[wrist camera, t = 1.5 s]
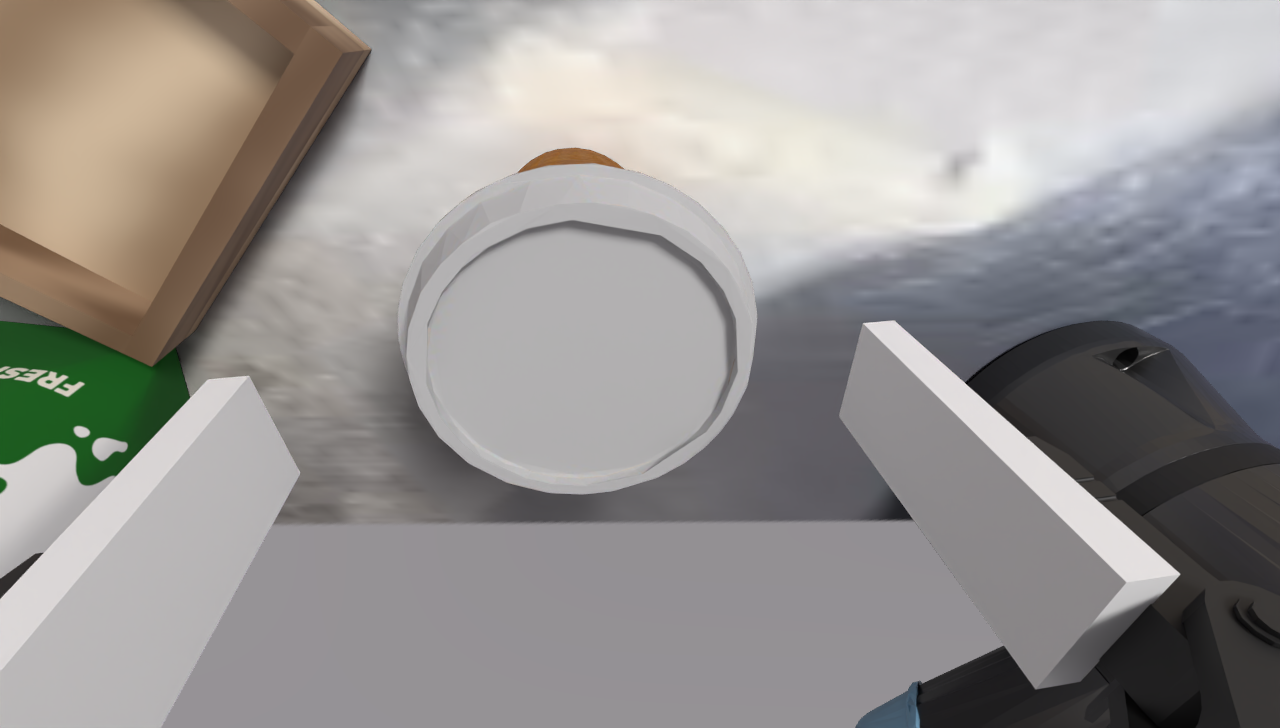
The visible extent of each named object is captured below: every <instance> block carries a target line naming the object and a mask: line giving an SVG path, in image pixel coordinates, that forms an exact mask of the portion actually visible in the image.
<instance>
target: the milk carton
mask: <svg viewBox="0 0 1280 728" xmlns="http://www.w3.org/2000/svg"><path fill="white" fill-rule="evenodd" d="M189 399H190V397H189V393H188V390H187V386H186V383H185V379H184V376H183V372H182V369H181V365H180V362H179V358H178V355H177V351H176V348H174V349H173V350H171V351H170V352H169V353H168V354H167V355H166V356H164V357H163V358H162V359H161V360H160V361H158V362H157V363H156V364H155V365H154V366H152V367H151V366H149V365H147V364H145V363H143V362H140V361H138V360H136V359H134V358H132V357H130V356H127V355H125V354H123V353H121V352H119V351H117V350H114V349H112V348H110V347H108V346H106V345H104V344H102V343H99V342H97V341H95V340H93V339H91V338H89V337H86V336H84V335H82V334H80V333H78V332H76V331H74V330H71V329H69V328H64V327H54V326H45V325H35V324H25V323H15V322H6V321H0V578H2V577H3V576H5V575H6V574H7V573H9V572H10V571H12V570H13V569H14V568H16V567H17V566H19V565H20V564H21V563H23V562H24V561H26V560H27V559H28V558H30V557H31V556H33V555H34V554H36V553H44V552H45V551H46V550H47V549H48V548H49V547H50V546H51V545H52V544H53V543H54V542H55V541H56V540H57V538H58V537H59V536H60V535H61V534H62V533H63V532H64V531H65V530H66V529H67V528H68V527H69V526H70V525H71V524H72V523H73V522H74V520H75V519H76V518H77V517H78V516H79V515H80V514H81V513H82V512H83V511H84V510H85V509H86V508H87V507H88V506H89V505H90V504H91V503H92V501H93V500H94V499H95V498H96V497H97V496H98V495H99V494H100V493H101V492H102V491H103V490H104V489H105V488H106V487H107V486H108V485H109V483H110V482H111V481H112V480H113V479H114V478H115V477H116V476H117V475H118V474H119V473H120V472H121V471H122V470H123V469H124V468H125V467H126V466H127V464H128V463H129V462H130V461H131V460H132V459H133V458H134V457H135V456H136V455H137V454H138V453H139V452H140V451H141V450H142V449H143V448H144V446H145V445H146V444H147V443H148V442H149V441H150V440H151V439H152V438H153V437H154V436H155V435H156V434H157V433H158V432H159V431H160V430H161V429H162V427H163V426H164V425H165V424H166V423H167V422H168V421H169V420H170V419H171V418H172V417H173V416H174V415H175V414H176V413H177V412H178V411H179V409H180V408H181V407H182V406H183V405H184V404H185V403H186V402H187V401H188V400H189Z"/></svg>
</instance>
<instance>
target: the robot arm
mask: <svg viewBox="0 0 1280 728" xmlns="http://www.w3.org/2000/svg"><path fill="white" fill-rule="evenodd" d="M839 417H840V419H841V420H842V421H843V423H844V424H845V426H846V427H847V428H848V430H849V431H850V433H851V434H852V435H853V437H854V438H855V439H856V441H857V442H858V444H859V445H860V446H861V448H862V449H863V451H864V452H865V453H866V455H867V456H868V457H869V459H870V460H871V462H872V463H873V464H874V466H875V467H876V469H877V470H878V471H879V473H880V474H881V476H882V477H883V478H884V480H885V481H886V482H887V484H888V485H889V487H890V488H891V489H892V491H893V492H894V494H895V495H896V496H897V498H898V499H899V501H900V502H901V503H902V505H903V506H904V507H905V509H906V510H907V512H908V513H909V514H910V516H911V517H912V519H913V520H914V521H915V523H916V524H917V525H918V527H919V528H920V530H921V531H922V532H923V534H924V535H925V536H926V538H927V539H928V541H929V542H930V544H931V545H932V546H933V547H934V549H935V551H936V552H937V553H938V555H939V556H940V557H941V559H942V560H943V562H944V563H945V564H946V566H947V567H948V569H949V570H950V571H951V573H952V574H953V575H954V577H955V578H956V580H957V581H958V582H959V584H960V585H961V587H962V588H963V589H964V591H965V592H966V594H967V595H968V596H969V598H970V599H971V600H972V602H973V603H974V605H975V606H976V607H977V609H978V610H979V612H980V613H981V614H982V616H983V617H984V618H985V620H986V621H987V623H988V624H989V625H990V627H991V628H992V630H993V631H994V632H995V634H996V635H997V637H998V638H999V639H1000V640H1001V642H1002V643H1003V645H1004V646H1002V647H1000V648H998V649H996V650H994V651H991V652H989V653H987V654H985V655H983V656H981V657H979V658H977V659H974V660H972V661H970V662H968V663H966V664H964V665H961V666H959V667H957V668H955V669H953V670H951V671H948V672H946V673H944V674H942V675H940V676H938V677H936V678H934V679H931V680H929V681H927V682H925V683H923V684H922V682H921V681H918V682H914V683H912V684H911V686H910V687H909V689H908V691H906V692H905V693H903V694H901V695H899V696H897V697H896V698H894V699H892V700H890V701H888V702H887V703H885V704H883V705H881V706H879V707H877V708H876V709H874V710H872V711H870V712H869V713H867V714H866V715H865V716H863V718H861V719H860V721H859V722H858V724H857V725H856V727H855V728H1280V449H1278V448H1276V447H1275V446H1273V445H1271V444H1270V443H1268V442H1266V441H1265V440H1263V439H1262V438H1261V437H1259V436H1258V435H1257V434H1256V433H1255V432H1254V431H1253V430H1252V429H1251V428H1250V427H1249V426H1248V424H1247V423H1246V422H1245V421H1244V420H1243V419H1242V418H1241V417H1240V416H1239V415H1238V414H1237V412H1236V411H1235V410H1234V409H1233V408H1232V407H1231V406H1230V405H1229V404H1228V403H1227V401H1226V400H1225V399H1224V398H1223V397H1222V396H1221V395H1220V394H1219V393H1218V392H1217V391H1216V389H1215V388H1214V387H1213V386H1212V385H1211V384H1210V383H1209V382H1208V381H1207V380H1206V379H1205V377H1204V376H1203V375H1202V374H1201V373H1200V372H1199V371H1198V370H1197V369H1196V368H1195V367H1194V365H1193V364H1192V363H1191V362H1190V361H1189V360H1188V359H1187V358H1186V357H1185V356H1184V355H1183V354H1182V353H1181V352H1179V351H1178V350H1177V349H1175V348H1174V347H1173V346H1171V345H1169V344H1168V343H1166V342H1164V341H1162V340H1160V339H1158V338H1156V337H1154V336H1152V335H1150V334H1149V333H1147V332H1145V331H1143V330H1141V329H1139V328H1137V327H1135V326H1132V325H1130V324H1126V323H1122V322H1115V321H1093V322H1085V323H1079V324H1074V325H1070V326H1066V327H1063V328H1059V329H1056V330H1053V331H1051V332H1048V333H1045V334H1043V335H1041V336H1038V337H1036V338H1034V339H1032V340H1030V341H1028V342H1026V343H1024V344H1022V345H1020V346H1018V347H1016V348H1015V349H1013V350H1011V351H1010V352H1008V353H1006V354H1005V355H1003V356H1002V357H1000V358H999V359H997V360H996V361H995V362H993V363H992V364H991V365H989V366H988V367H987V368H985V369H984V370H983V371H982V372H981V373H979V374H978V375H977V376H976V377H975V378H974V379H973V380H972V381H970V382H969V383H968V384H967V385H966V384H965V383H964V382H963V381H962V380H961V379H960V378H958V377H957V376H956V375H955V374H954V373H953V372H952V371H951V370H949V369H948V368H947V367H946V366H945V365H944V364H943V363H941V362H940V361H939V360H938V359H937V358H936V357H935V356H934V355H932V354H931V353H930V352H929V351H928V350H927V349H926V348H925V347H923V346H922V345H921V344H920V343H919V342H918V341H917V340H916V339H914V338H913V337H912V336H911V335H910V334H909V333H908V332H906V331H905V330H904V329H903V328H902V327H901V326H900V325H899V324H897V323H896V322H895V321H883V322H872V323H863V325H862V329H861V333H860V336H859V340H858V344H857V348H856V352H855V356H854V360H853V364H852V367H851V371H850V375H849V379H848V383H847V387H846V391H845V395H844V399H843V402H842V406H841V410H840V414H839ZM299 475H300V471H299V470H298V468H297V466H296V464H295V462H294V460H293V458H292V456H291V454H290V453H289V451H288V449H287V447H286V445H285V443H284V441H283V439H282V437H281V435H280V434H279V432H278V430H277V428H276V426H275V424H274V422H273V420H272V418H271V417H270V415H269V413H268V411H267V409H266V407H265V405H264V403H263V401H262V399H261V398H260V396H259V394H258V392H257V390H256V388H255V386H254V384H253V382H252V381H251V379H250V377H249V376H242V377H230V378H218V379H208V380H207V381H206V382H205V383H204V384H203V385H202V386H201V387H200V388H199V389H198V390H197V392H196V393H195V394H194V395H193V396H192V397H191V398H190V399H189V400H188V401H187V402H186V403H185V404H184V405H183V406H182V407H181V408H180V409H179V411H178V412H177V413H176V414H175V415H174V416H173V417H172V418H171V419H170V420H169V421H168V422H167V423H166V424H165V425H164V426H163V427H162V429H161V430H160V431H159V432H158V433H157V434H156V435H155V436H154V437H153V438H152V439H151V440H150V441H149V442H148V443H147V444H146V445H145V446H144V448H143V449H142V450H141V451H140V452H139V453H138V454H137V455H136V456H135V457H134V458H133V459H132V460H131V461H130V462H129V463H128V464H127V466H126V467H125V468H124V469H123V470H122V471H121V472H120V473H119V474H118V475H117V476H116V477H115V478H114V479H113V480H112V481H111V482H110V483H109V485H108V486H107V487H106V488H105V489H104V490H103V491H102V492H101V493H100V494H99V495H98V496H97V497H96V498H95V499H94V500H93V501H92V503H91V504H90V505H89V506H88V507H87V508H86V509H85V510H84V511H83V512H82V513H81V514H80V515H79V516H78V517H77V518H76V519H75V520H74V522H73V523H72V524H71V525H70V526H69V527H68V528H67V529H66V530H65V531H64V532H63V533H62V534H61V535H60V536H59V537H58V538H57V540H56V541H55V542H54V543H53V544H52V545H51V546H50V547H49V548H48V549H47V550H46V551H45V552H44V553H36V554H34V555H33V556H31V557H30V558H28V559H27V560H26V561H24V562H23V563H21V564H20V565H19V566H17V567H16V568H14V569H13V570H12V571H10V572H9V573H7V574H6V575H5V576H3V577H2V578H0V728H161V727H162V725H163V723H164V721H165V720H166V718H167V716H168V714H169V712H170V711H171V709H172V707H173V705H174V703H175V701H176V700H177V698H178V696H179V694H180V692H181V690H182V689H183V687H184V685H185V683H186V681H187V680H188V678H189V676H190V674H191V672H192V670H193V668H194V667H195V665H196V663H197V661H198V659H199V657H200V655H201V654H202V652H203V650H204V648H205V647H206V645H207V643H208V641H209V639H210V637H211V636H212V634H213V632H214V630H215V628H216V627H217V625H218V623H219V621H220V619H221V618H222V615H223V614H224V612H225V610H226V608H227V607H228V605H229V603H230V601H231V599H232V597H233V596H234V594H235V592H236V590H237V588H238V587H239V585H240V583H241V581H242V579H243V577H244V576H245V574H246V572H247V570H248V568H249V566H250V564H251V563H252V561H253V559H254V557H255V556H256V554H257V552H258V550H259V548H260V546H261V545H262V543H263V541H264V539H265V537H266V535H267V534H268V532H269V530H270V528H271V526H272V525H273V523H274V521H275V519H276V517H277V515H278V514H279V512H280V510H281V508H282V506H283V504H284V503H285V501H286V499H287V497H288V495H289V494H290V492H291V490H292V488H293V486H294V484H295V483H296V481H297V479H298V477H299Z"/></svg>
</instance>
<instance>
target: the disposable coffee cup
mask: <svg viewBox="0 0 1280 728" xmlns="http://www.w3.org/2000/svg"><path fill="white" fill-rule="evenodd" d="M756 324H757V310H756V303H755V296H754V289H753V283H752V280H751V277H750V275H749V272H748V270H747V267H746V265H745V262H744V260H743V257H742V255H741V253H740V251H739V250H738V248H737V247H736V245H735V244H734V242H733V241H732V239H731V238H730V236H729V235H728V233H727V232H726V231H725V229H724V228H723V227H722V226H721V225H720V224H719V223H718V222H717V221H716V220H715V219H714V218H713V217H712V216H711V215H710V214H709V213H708V212H707V211H706V210H705V209H704V208H703V207H702V206H701V205H700V204H699V203H698V202H696V201H695V200H693V199H691V198H690V197H688V196H687V195H685V194H684V193H682V192H680V191H679V190H677V189H676V188H674V187H672V186H671V185H669V184H667V183H664V182H662V181H659V180H657V179H655V178H652V177H650V176H647V175H645V174H643V173H640V172H635V171H630V170H625V169H624V168H622V167H621V166H620V165H619V164H617V163H616V162H614V161H613V160H611V159H609V158H608V157H606V156H605V155H602V154H599V153H597V152H594V151H591V150H586V149H580V148H566V149H557V150H553V151H550V152H546V153H544V154H542V155H540V156H538V157H536V158H535V159H533V160H531V161H530V162H529V163H527V164H526V165H525V166H524V167H523V168H522V169H521V170H520V171H519V172H518V173H516V174H513V175H510V176H508V177H506V178H504V179H502V180H500V181H497V182H495V183H493V184H491V185H489V186H487V187H484V188H482V189H480V190H478V191H476V192H475V193H473V194H472V195H470V196H469V197H468V198H466V199H465V200H463V201H462V202H461V203H460V204H458V205H457V206H456V207H455V208H454V209H453V210H451V211H450V212H449V213H448V214H447V215H445V217H444V218H443V219H442V220H441V221H440V222H439V223H438V224H437V225H436V226H435V227H434V229H433V230H432V231H431V233H430V234H429V235H428V237H427V238H426V239H425V241H424V242H423V243H422V245H421V246H420V247H419V249H418V250H417V252H416V254H415V256H414V259H413V261H412V263H411V266H410V268H409V270H408V273H407V275H406V277H405V280H404V282H403V284H402V290H401V295H400V301H399V306H398V341H399V345H400V349H401V353H402V357H403V362H404V366H405V369H406V371H407V373H408V375H409V380H410V383H411V386H412V389H413V392H414V395H415V398H416V401H417V404H418V406H419V408H420V409H421V411H422V412H423V414H424V415H425V417H426V418H427V420H428V422H429V423H430V425H431V426H432V428H433V429H434V431H435V432H436V434H437V435H438V437H439V438H441V439H442V440H443V441H444V442H445V443H446V444H447V445H448V446H450V447H451V448H452V449H453V450H454V451H455V452H456V453H457V454H459V455H460V456H461V457H462V458H463V459H464V460H465V461H466V462H468V463H469V464H471V465H473V466H475V467H477V468H479V469H481V470H483V471H485V472H487V473H489V474H491V475H493V476H495V477H497V478H499V479H501V480H503V481H505V482H506V483H510V484H514V485H518V486H522V487H526V488H530V489H534V490H539V491H543V492H547V493H560V494H592V493H601V492H610V491H615V490H618V489H621V488H625V487H628V486H631V485H635V484H638V483H641V482H645V481H648V480H651V479H655V478H658V477H659V476H661V475H663V474H665V473H667V472H669V471H671V470H672V469H674V468H676V467H678V466H680V465H682V464H684V463H685V462H686V461H688V460H689V459H690V458H691V457H693V456H694V455H695V454H697V453H698V452H699V451H701V450H702V449H703V448H705V447H706V446H707V445H708V444H709V443H710V442H711V441H712V440H713V439H714V438H715V436H716V435H717V434H718V433H719V432H720V431H721V430H722V429H723V427H724V426H725V425H726V423H727V422H728V420H729V419H730V418H731V416H732V415H733V413H734V412H735V410H736V408H737V406H738V404H739V402H740V400H741V397H742V395H743V393H744V391H745V389H746V387H747V385H748V379H749V374H750V369H751V364H752V359H753V354H754V344H755V334H756Z"/></svg>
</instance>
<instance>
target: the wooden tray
mask: <svg viewBox="0 0 1280 728" xmlns="http://www.w3.org/2000/svg"><path fill="white" fill-rule="evenodd" d="M370 51H371V48H369V47H368V46H367V45H366V44H365V43H364V42H362V41H361V40H360V39H359V38H358V37H357V36H355V35H354V34H353V33H352V32H351V31H349V30H348V29H347V28H346V27H345V26H344V25H342V24H341V23H340V22H339V21H338V20H337V19H335V18H334V17H333V16H332V15H331V14H330V13H328V12H327V11H326V10H325V9H324V8H323V7H321V6H320V5H319V4H318V3H317V2H316V1H314V0H0V297H2V298H5V299H7V300H9V301H11V302H13V303H15V304H17V305H20V306H22V307H24V308H26V309H28V310H30V311H33V312H35V313H37V314H39V315H41V316H43V317H46V318H48V319H50V320H52V321H54V322H56V323H58V324H61V325H63V326H65V327H67V328H69V329H71V330H74V331H76V332H78V333H80V334H82V335H84V336H86V337H89V338H91V339H93V340H95V341H97V342H99V343H102V344H104V345H106V346H108V347H110V348H112V349H114V350H117V351H119V352H121V353H123V354H125V355H127V356H130V357H132V358H134V359H136V360H138V361H140V362H143V363H145V364H147V365H149V366H151V367H152V366H154V365H155V364H156V363H157V362H158V361H160V360H161V359H162V358H163V357H164V356H166V355H167V354H168V353H169V352H170V351H171V350H173V349H174V348H175V347H176V346H177V345H179V344H180V343H181V342H182V341H183V340H185V339H186V338H187V337H188V336H189V335H190V334H192V333H193V332H194V331H195V330H196V328H197V327H198V325H199V324H200V322H201V321H202V319H203V317H204V316H205V314H206V313H207V311H208V309H209V308H210V306H211V305H212V303H213V301H214V300H215V298H216V297H217V295H218V293H219V292H220V290H221V289H222V287H223V285H224V284H225V282H226V281H227V279H228V277H229V276H230V274H231V273H232V271H233V269H234V268H235V266H236V265H237V263H238V262H239V260H240V258H241V257H242V255H243V254H244V252H245V250H246V249H247V247H248V246H249V244H250V242H251V241H252V239H253V238H254V236H255V234H256V233H257V231H258V230H259V228H260V226H261V225H262V223H263V222H264V220H265V218H266V217H267V215H268V214H269V212H270V210H271V209H272V207H273V206H274V204H275V203H276V201H277V199H278V198H279V196H280V195H281V193H282V191H283V190H284V188H285V187H286V185H287V183H288V182H289V180H290V179H291V177H292V175H293V174H294V172H295V171H296V169H297V167H298V166H299V164H300V163H301V161H302V159H303V158H304V156H305V155H306V153H307V151H308V150H309V148H310V147H311V145H312V144H313V142H314V140H315V139H316V137H317V136H318V134H319V132H320V131H321V129H322V128H323V126H324V124H325V123H326V121H327V120H328V118H329V116H330V115H331V113H332V112H333V110H334V108H335V107H336V105H337V104H338V102H339V100H340V99H341V97H342V96H343V94H344V92H345V91H346V89H347V88H348V86H349V85H350V83H351V81H352V80H353V78H354V77H355V75H356V73H357V72H358V70H359V69H360V67H361V65H362V64H363V62H364V61H365V59H366V57H367V56H368V54H369V53H370Z"/></svg>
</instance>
